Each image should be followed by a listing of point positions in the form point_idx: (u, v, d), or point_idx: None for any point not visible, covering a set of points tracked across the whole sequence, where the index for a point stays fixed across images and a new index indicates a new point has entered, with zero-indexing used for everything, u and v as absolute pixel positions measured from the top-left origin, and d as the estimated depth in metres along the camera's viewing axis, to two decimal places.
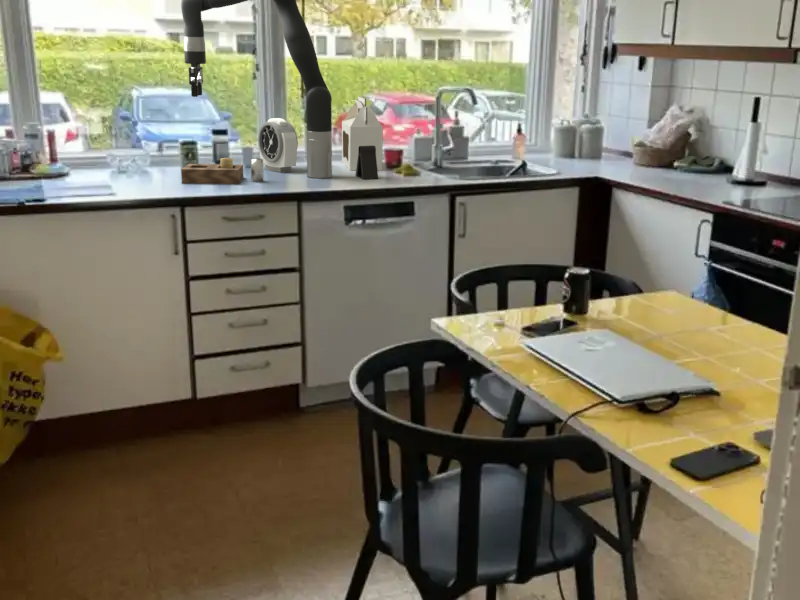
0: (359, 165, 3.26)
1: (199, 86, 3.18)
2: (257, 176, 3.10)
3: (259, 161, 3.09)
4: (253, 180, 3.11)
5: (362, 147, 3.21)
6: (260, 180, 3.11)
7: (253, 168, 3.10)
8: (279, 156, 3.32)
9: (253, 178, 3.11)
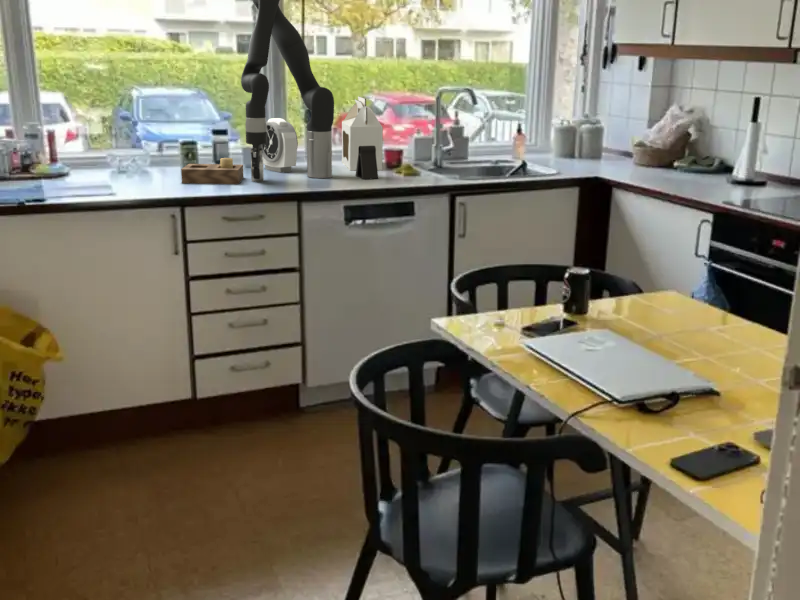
0: (359, 165, 3.26)
1: None
2: None
3: None
4: (253, 180, 3.11)
5: (362, 147, 3.21)
6: (260, 180, 3.11)
7: None
8: (279, 156, 3.32)
9: (253, 178, 3.11)
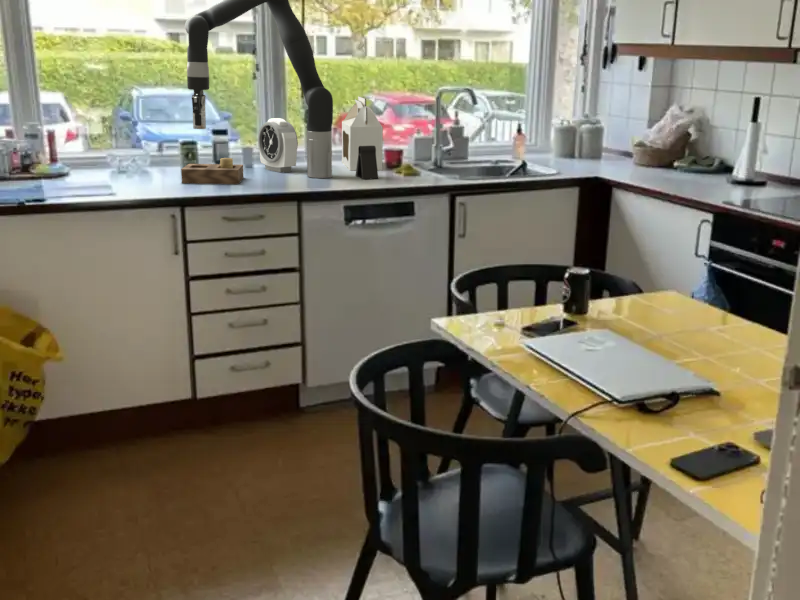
0: (359, 165, 3.26)
1: None
2: None
3: None
4: (195, 127, 3.04)
5: (362, 147, 3.21)
6: (202, 127, 3.05)
7: None
8: (279, 156, 3.32)
9: (195, 125, 3.04)
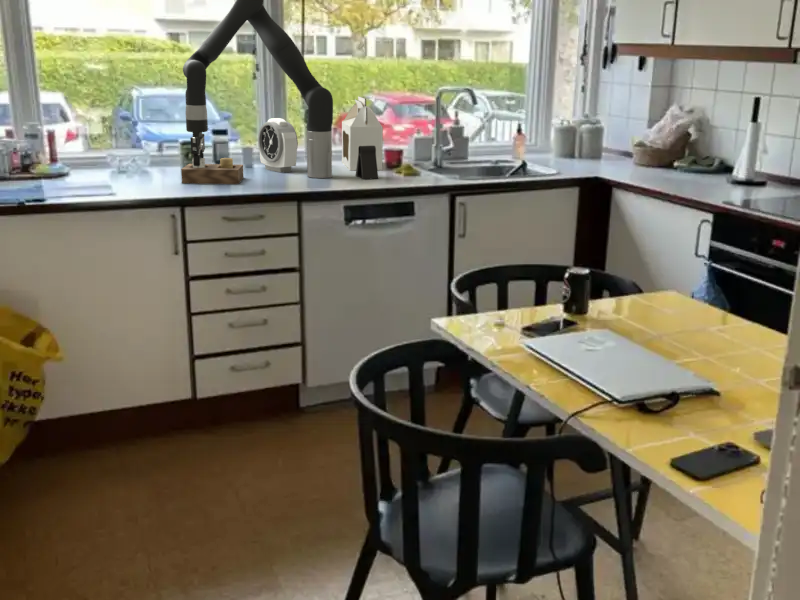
0: (359, 165, 3.26)
1: (201, 154, 3.13)
2: None
3: (200, 160, 3.08)
4: None
5: (362, 147, 3.21)
6: None
7: (194, 167, 3.08)
8: (279, 156, 3.32)
9: None
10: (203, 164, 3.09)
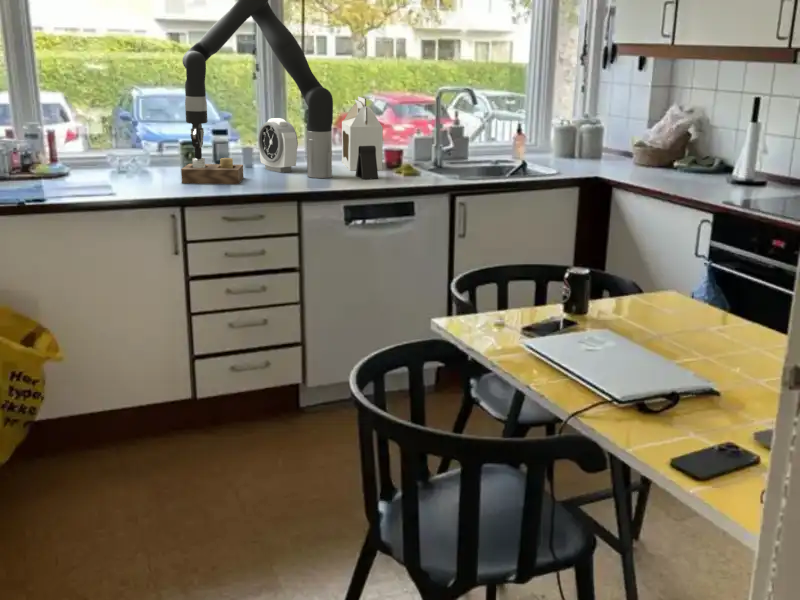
0: (359, 165, 3.26)
1: None
2: None
3: (200, 160, 3.08)
4: None
5: (362, 147, 3.21)
6: None
7: (194, 167, 3.08)
8: (279, 156, 3.32)
9: None
10: (203, 164, 3.09)
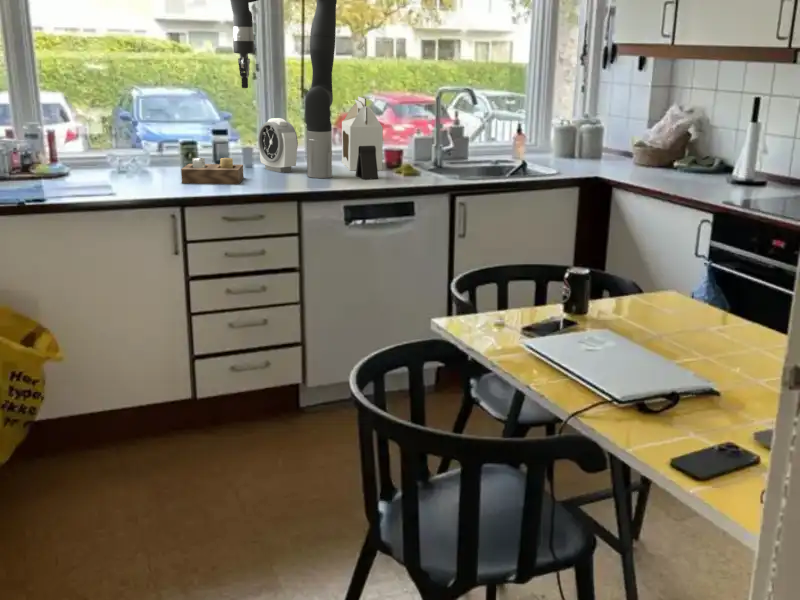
0: (359, 165, 3.26)
1: None
2: None
3: (200, 160, 3.08)
4: None
5: (362, 147, 3.21)
6: None
7: (194, 167, 3.08)
8: (279, 156, 3.32)
9: None
10: (203, 164, 3.09)
